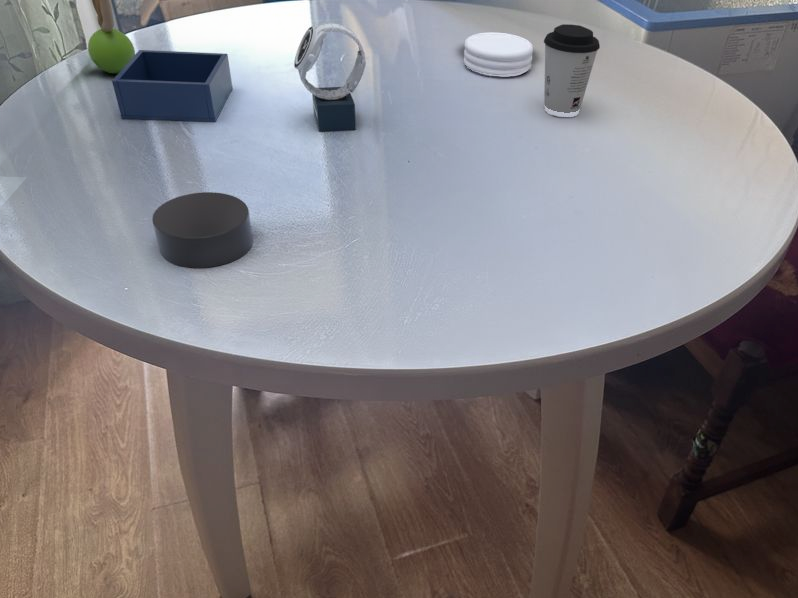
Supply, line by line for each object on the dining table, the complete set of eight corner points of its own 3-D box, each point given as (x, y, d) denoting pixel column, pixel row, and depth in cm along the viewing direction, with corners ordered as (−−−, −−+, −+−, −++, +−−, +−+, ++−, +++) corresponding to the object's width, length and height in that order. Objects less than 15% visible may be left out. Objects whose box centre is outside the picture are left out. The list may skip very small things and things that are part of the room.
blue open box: (121, 118, 83) (111, 80, 80) (147, 85, 91) (139, 49, 88) (215, 122, 84) (209, 84, 81) (232, 88, 92) (227, 53, 89)
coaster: (510, 84, 100) (512, 58, 97) (450, 67, 103) (451, 42, 101) (542, 65, 106) (545, 41, 104) (485, 50, 110) (487, 26, 108)
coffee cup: (591, 123, 91) (606, 41, 84) (537, 120, 90) (548, 37, 84) (584, 102, 96) (597, 24, 90) (532, 99, 96) (542, 20, 89)
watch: (297, 114, 87) (288, 18, 80) (362, 110, 89) (359, 17, 82) (302, 132, 83) (293, 34, 76) (370, 129, 85) (368, 32, 78)
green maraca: (103, 84, 90) (76, -19, 83) (89, 68, 94) (62, -32, 86) (147, 78, 93) (124, -23, 85) (132, 62, 97) (109, -36, 89)
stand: (148, 267, 61) (140, 237, 59) (172, 219, 67) (165, 190, 65) (244, 269, 61) (239, 239, 59) (259, 221, 67) (255, 193, 66)
